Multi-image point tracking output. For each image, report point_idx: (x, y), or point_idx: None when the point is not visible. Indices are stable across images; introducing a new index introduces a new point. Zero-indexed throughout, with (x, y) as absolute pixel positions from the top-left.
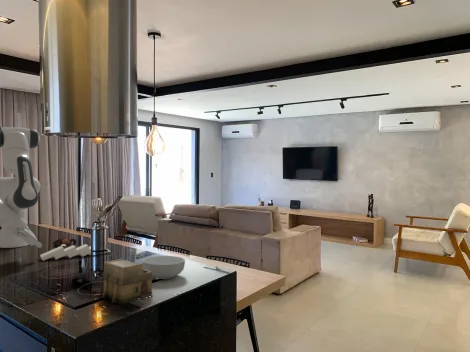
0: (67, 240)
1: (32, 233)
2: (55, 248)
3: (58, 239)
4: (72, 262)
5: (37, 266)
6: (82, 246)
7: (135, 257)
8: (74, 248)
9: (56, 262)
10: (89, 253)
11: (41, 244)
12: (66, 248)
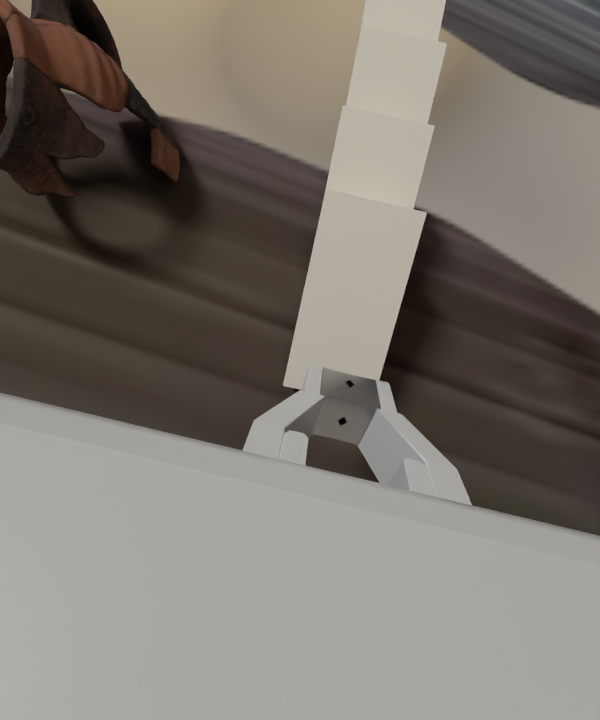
0: (86, 44)
1: (30, 503)
2: (316, 251)
3: (25, 86)
4: (529, 273)
5: (521, 485)
6: (388, 76)
7: (590, 11)
8: (426, 147)
9: (470, 344)
10: None
11: (387, 389)
12: (345, 180)
